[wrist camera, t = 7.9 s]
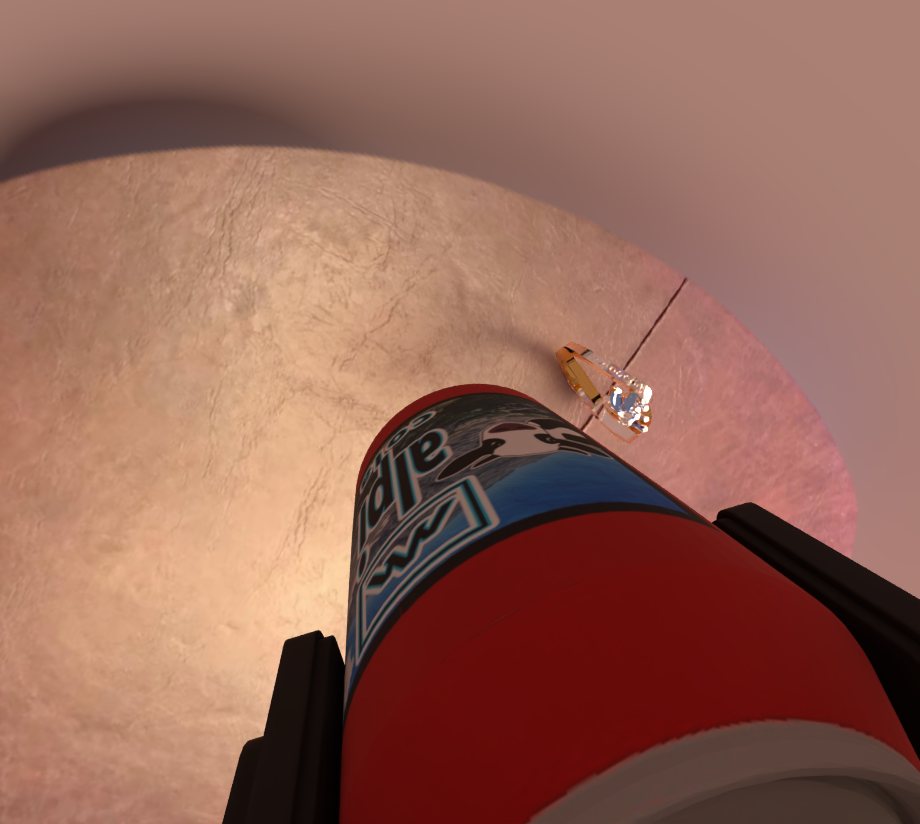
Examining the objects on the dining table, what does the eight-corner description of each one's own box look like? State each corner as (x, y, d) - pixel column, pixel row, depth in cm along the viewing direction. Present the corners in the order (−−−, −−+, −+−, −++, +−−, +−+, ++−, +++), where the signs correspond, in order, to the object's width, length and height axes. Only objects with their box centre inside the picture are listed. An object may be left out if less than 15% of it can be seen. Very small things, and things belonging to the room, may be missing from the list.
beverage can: (456, 328, 15) (775, 508, 3) (613, 465, 17) (1161, 881, 5) (306, 507, 15) (126, 1207, 4) (476, 619, 17) (698, 1304, 6)
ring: (616, 407, 36) (684, 441, 29) (578, 433, 36) (637, 475, 29) (568, 324, 34) (627, 337, 27) (528, 352, 34) (576, 373, 27)
